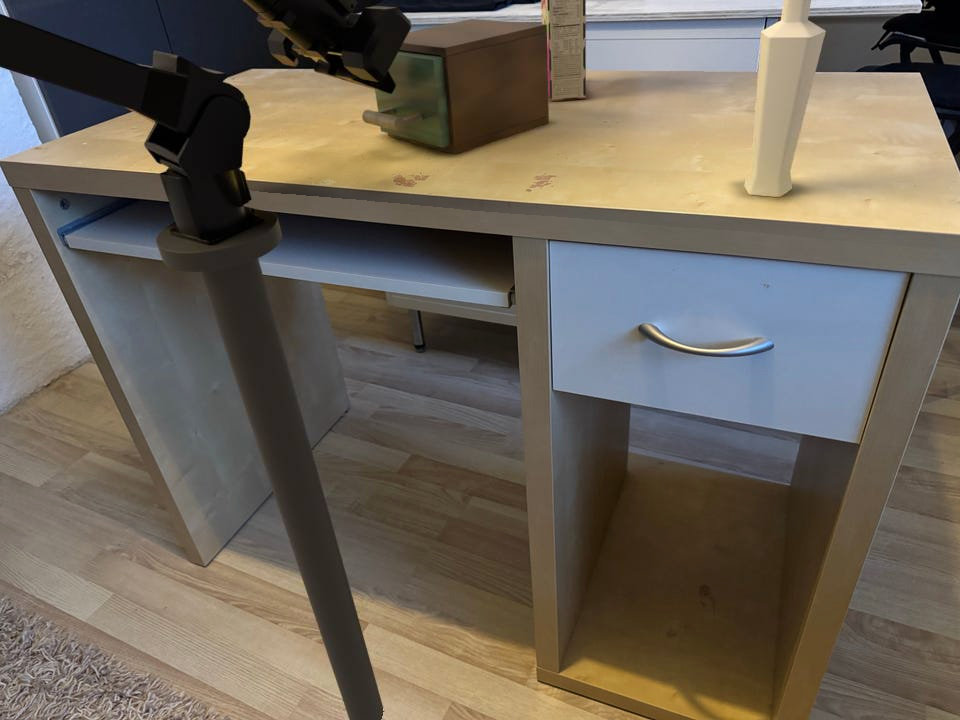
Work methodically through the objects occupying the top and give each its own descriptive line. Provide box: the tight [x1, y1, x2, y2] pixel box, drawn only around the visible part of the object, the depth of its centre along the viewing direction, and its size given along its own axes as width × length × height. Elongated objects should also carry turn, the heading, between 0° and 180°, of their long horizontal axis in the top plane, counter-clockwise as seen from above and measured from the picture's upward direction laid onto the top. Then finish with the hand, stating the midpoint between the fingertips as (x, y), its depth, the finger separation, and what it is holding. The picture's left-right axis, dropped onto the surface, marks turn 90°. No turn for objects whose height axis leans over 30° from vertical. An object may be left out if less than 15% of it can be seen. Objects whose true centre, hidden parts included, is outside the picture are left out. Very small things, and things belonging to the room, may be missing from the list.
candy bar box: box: [540, 0, 587, 102], centre depth 89 cm, size 11×5×16 cm, turn 0°
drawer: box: [361, 50, 451, 148], centre depth 77 cm, size 17×11×9 cm, turn 132°
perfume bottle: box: [743, 0, 827, 198], centre depth 55 cm, size 5×4×15 cm
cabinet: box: [386, 18, 550, 155], centre depth 78 cm, size 15×13×11 cm
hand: (392, 89), depth 73 cm, fingers closed
